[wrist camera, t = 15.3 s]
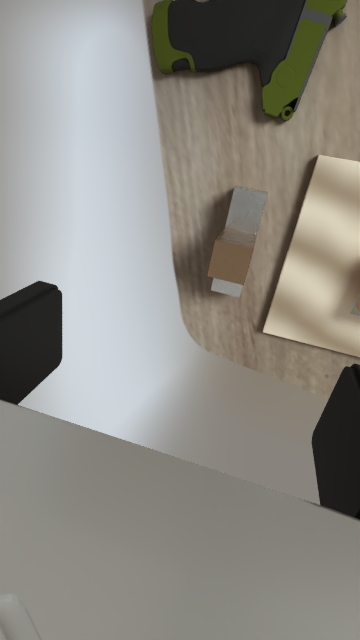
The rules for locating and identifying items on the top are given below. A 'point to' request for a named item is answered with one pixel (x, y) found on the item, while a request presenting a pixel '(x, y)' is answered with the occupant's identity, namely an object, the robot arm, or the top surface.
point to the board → (323, 263)
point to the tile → (358, 305)
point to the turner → (236, 241)
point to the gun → (247, 40)
